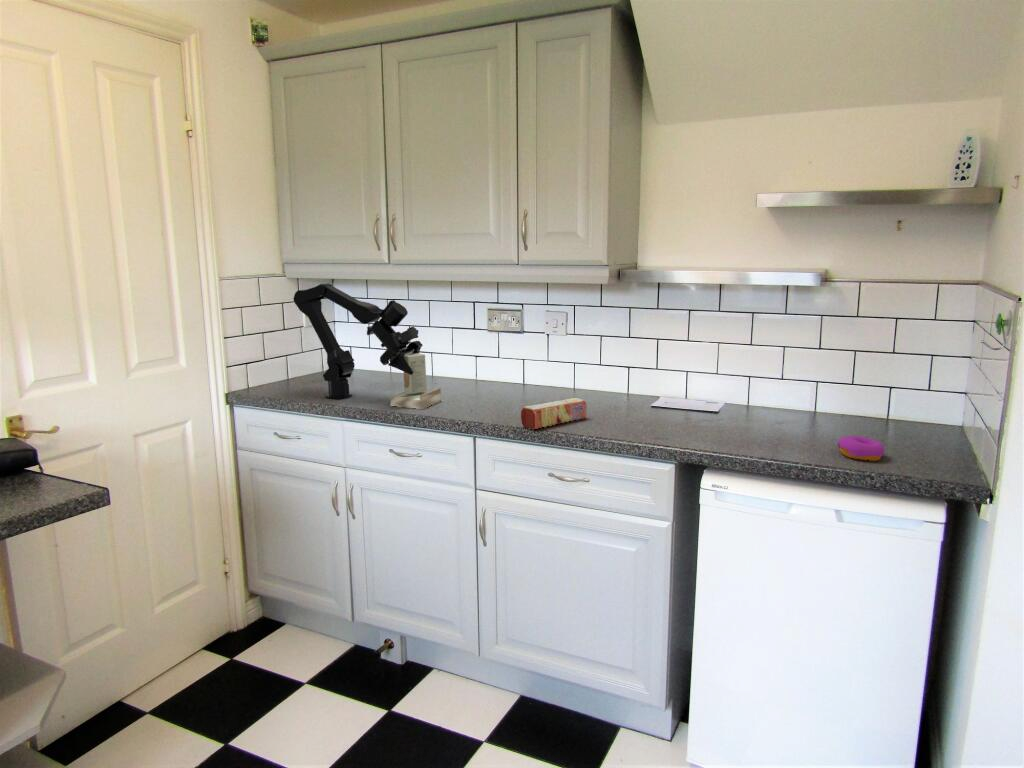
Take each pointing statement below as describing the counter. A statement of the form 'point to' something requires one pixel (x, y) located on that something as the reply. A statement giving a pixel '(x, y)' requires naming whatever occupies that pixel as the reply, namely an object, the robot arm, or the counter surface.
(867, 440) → the donut
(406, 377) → the skincare box
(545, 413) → the snack package
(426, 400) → the stand
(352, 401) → the counter surface
